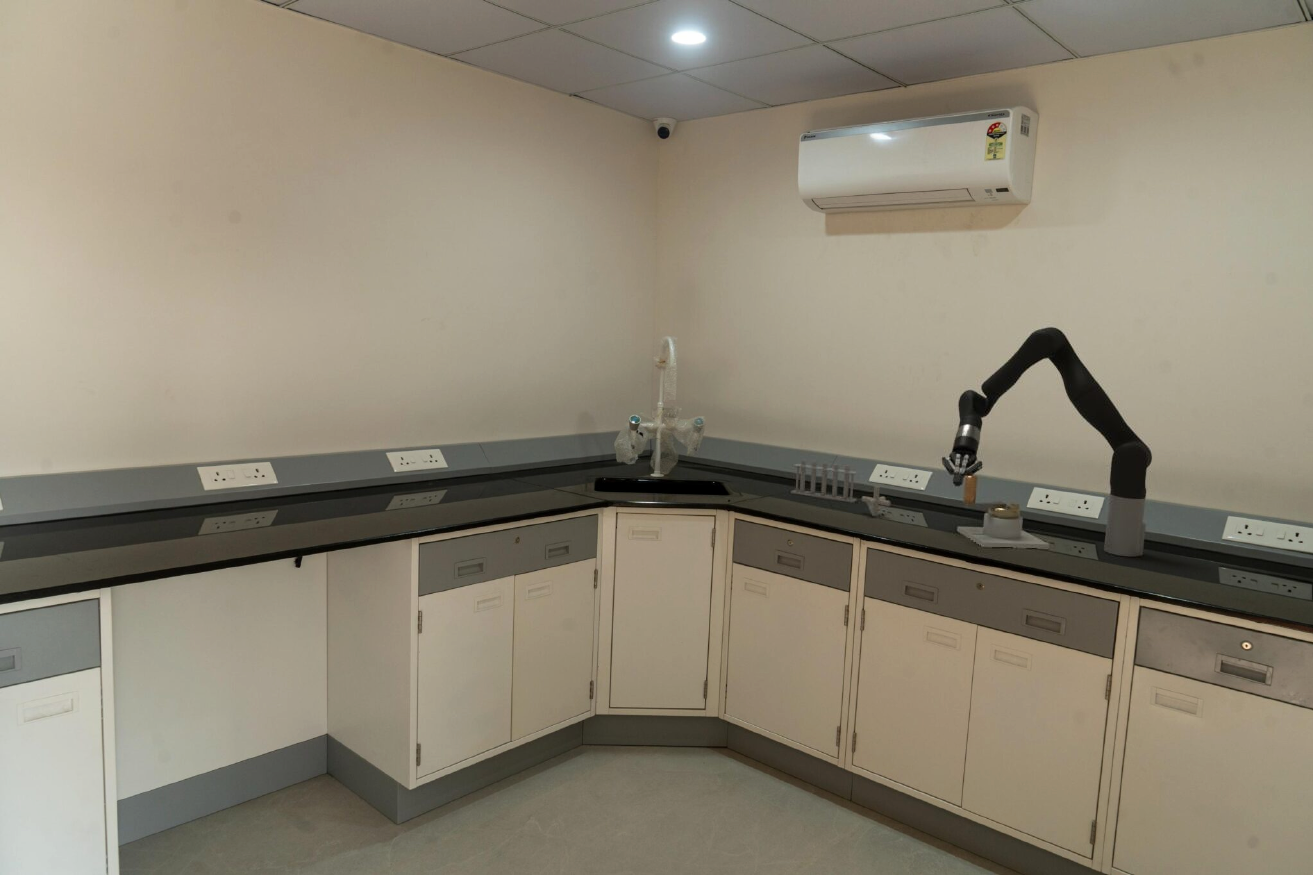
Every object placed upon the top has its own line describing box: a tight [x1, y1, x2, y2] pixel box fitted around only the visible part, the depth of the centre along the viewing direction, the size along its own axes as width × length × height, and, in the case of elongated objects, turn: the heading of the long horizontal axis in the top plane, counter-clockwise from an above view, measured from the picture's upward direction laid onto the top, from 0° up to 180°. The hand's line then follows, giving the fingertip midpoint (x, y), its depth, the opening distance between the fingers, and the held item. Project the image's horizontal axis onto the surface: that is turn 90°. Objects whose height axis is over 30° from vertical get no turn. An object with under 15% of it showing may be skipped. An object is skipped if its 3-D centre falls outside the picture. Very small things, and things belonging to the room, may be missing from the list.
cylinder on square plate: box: [956, 512, 1050, 550], centre depth 263 cm, size 20×20×8 cm
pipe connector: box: [861, 485, 891, 517], centre depth 292 cm, size 10×10×10 cm
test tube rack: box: [790, 459, 859, 504], centre depth 321 cm, size 25×4×13 cm, turn 55°
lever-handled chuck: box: [962, 474, 1021, 519], centre depth 261 cm, size 18×9×12 cm, turn 101°
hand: (957, 484), depth 267 cm, fingers closed
